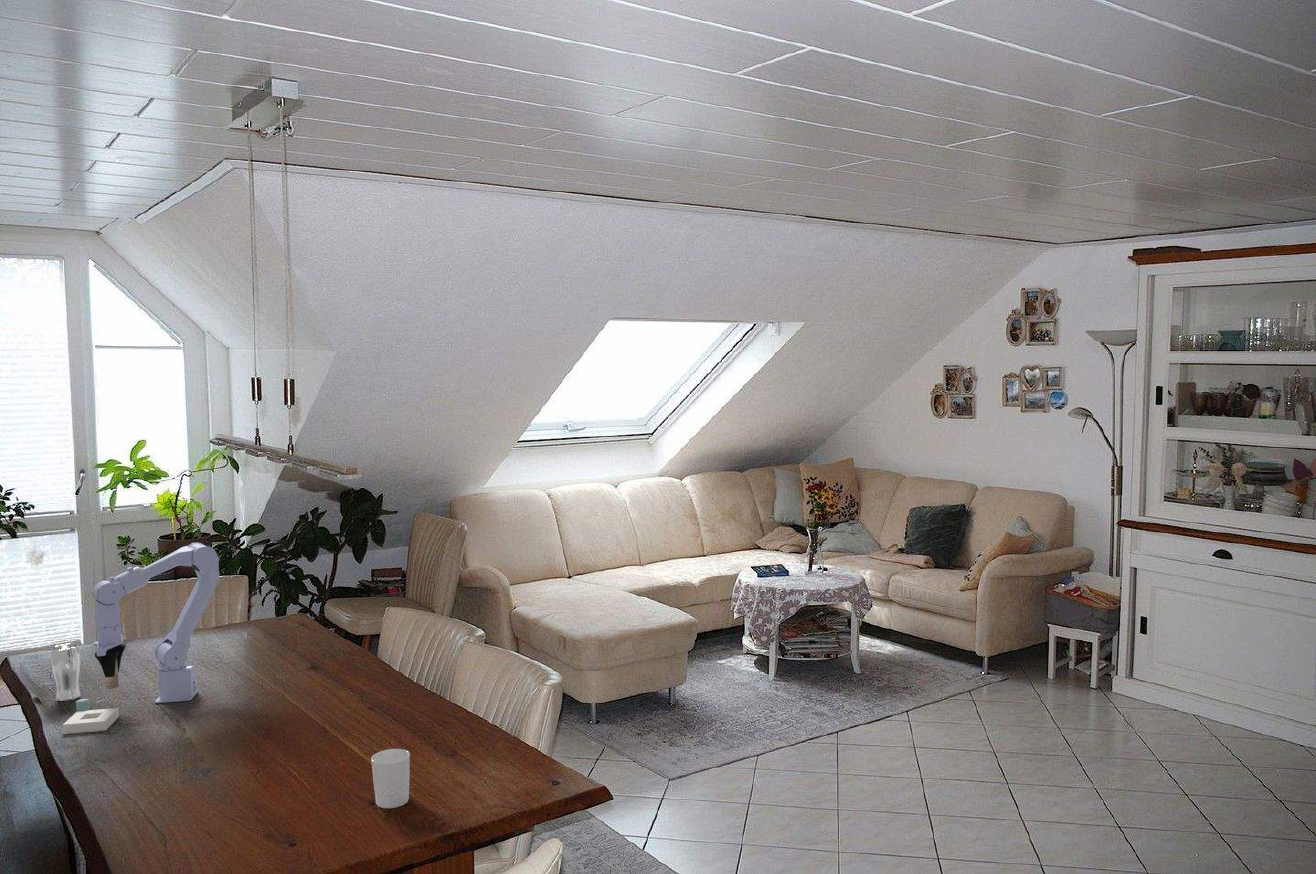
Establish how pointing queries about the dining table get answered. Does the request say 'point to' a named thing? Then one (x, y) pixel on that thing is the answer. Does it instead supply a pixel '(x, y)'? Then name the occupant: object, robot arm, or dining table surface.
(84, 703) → the short teal pin
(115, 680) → the long beech pin
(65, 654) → the beer glass
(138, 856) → the dining table surface
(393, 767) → the white cup
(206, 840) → the dining table surface
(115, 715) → the collar block
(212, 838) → the dining table surface
